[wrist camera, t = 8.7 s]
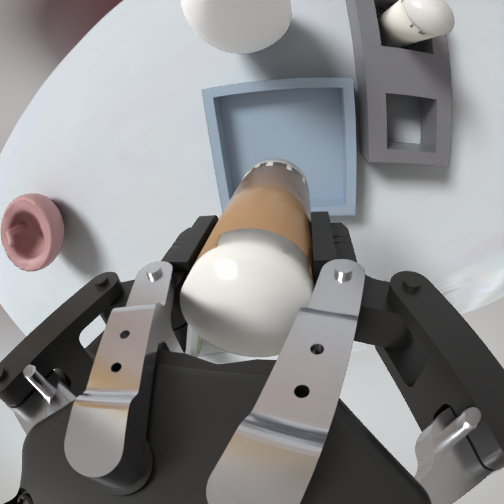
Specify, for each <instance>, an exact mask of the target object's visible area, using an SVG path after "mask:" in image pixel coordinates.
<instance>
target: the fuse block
mask: <svg viewBox="0 0 504 504" xmlns="http://www.w3.org/2000/svg"><path fill="white" fill-rule="evenodd" d="M398 1H399V0H346V5H347V10H348V16H349V21H350V28H351V34H352V41H353V49H354V57H355V66H356V77H357V88H358V103H359V124H360V153H361V154H362V155H363V156H364V157H365V159H366V160H367V161H368V162H382V163H404V164H420V165H433V166H444V167H449V163H450V150H451V132H452V90H451V73H450V61H449V52H448V44H447V37H446V34H444V35H440V36H437V37H433V38H429V39H426V40H422V41H419V42H416V46H417V51H414V50H408V49H402V48H395V47H387V46H381V39H380V32H379V26H378V20H377V14H376V9H375V8H382V9H389V8H390V7H391V6H393V5H394V4H395V3H397V2H398ZM386 93H392V94H401V95H410V96H417V97H421V144H412V143H398V142H387V109H386Z"/></svg>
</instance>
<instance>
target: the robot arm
mask: <svg viewBox="0 0 504 504" xmlns="http://www.w3.org/2000/svg"><path fill="white" fill-rule="evenodd" d="M217 222H218V217H217V216H216V215H215V216H200V217H199V218H198V219H197V220H196V222H195V223H194V225H193V226H192V227H191V228H188V229H186V230H185V231H184V232H182V233H181V234H180V235H179V236H178V238H177V239H176V242H174V243H173V245H172V247H171V248H170V249H169V250H168V252H167V253H166V255H165V256H164V258H163V259H162V260H161V261H159V262H154V263H151V264H149V265H147V266H145V267H143V268H142V269H141V270H140V271H139V272H138V274H137V276H136V279H135V280H131V281H126V282H122V283H121V282H120V280H119V277H118V275H117V274H116V273H114V272H106V273H103V274H100V275H98V276H96V277H95V278H94V279H92V280H91V281H90V282H89V283H87V284H86V285H85V286H84V287H82V288H81V289H80V290H79V291H78V292H76V293H75V294H74V295H73V296H72V297H70V298H69V299H68V300H67V301H66V302H65V303H63V304H62V305H61V306H60V307H59V308H58V309H57V310H55V311H54V312H53V313H52V314H51V315H50V316H49V317H48V318H46V319H45V320H44V321H43V322H42V323H41V324H40V325H39V326H38V327H37V328H35V329H34V330H33V331H32V332H31V333H30V334H29V335H28V336H27V337H26V338H25V339H24V340H23V341H22V342H21V343H20V344H19V345H18V346H16V347H15V349H13V350H12V351H11V353H9V354H8V355H7V357H5V358H4V359H3V360H2V361H1V362H0V399H1V400H3V401H4V402H5V403H6V405H7V406H8V407H9V408H10V409H11V410H13V411H14V413H15V415H16V417H17V419H18V421H19V422H20V424H21V426H22V428H23V429H24V431H25V432H26V434H27V436H26V439H25V441H24V444H23V450H22V474H21V483H20V488H19V491H18V493H17V495H16V496H15V497H14V498H13V499H12V500H10V501H9V502H6V503H4V504H452V503H454V502H455V501H457V500H458V499H459V498H461V497H462V496H463V495H465V494H466V493H467V492H469V491H470V490H471V489H472V488H474V487H475V486H476V485H477V484H479V483H480V482H481V481H482V480H483V479H485V478H486V477H487V476H489V475H491V474H493V473H494V472H496V471H498V470H500V469H501V468H503V467H504V369H503V368H502V366H501V365H500V364H499V362H498V361H497V360H496V358H495V357H494V356H493V354H492V353H491V352H490V350H489V349H488V348H487V346H486V345H485V344H484V343H483V341H482V340H481V339H480V338H479V336H478V335H477V334H476V333H475V332H474V330H473V329H472V328H471V327H470V326H469V324H468V323H467V322H466V321H465V320H464V318H463V317H462V316H461V315H460V314H459V313H458V312H457V310H456V309H455V308H454V307H453V306H452V305H451V304H450V303H449V302H448V300H447V299H446V298H445V297H444V296H443V295H442V294H441V293H440V292H439V291H438V290H437V289H436V288H435V286H434V285H433V284H432V283H431V282H430V281H429V280H428V279H427V278H426V277H424V276H423V275H421V274H418V273H415V272H411V271H403V272H399V273H397V274H395V275H394V276H393V277H392V278H391V281H390V282H386V281H381V280H376V279H373V278H371V277H369V276H367V275H365V270H364V268H363V267H362V266H361V265H360V264H358V263H357V260H356V256H355V252H354V249H353V245H352V242H351V238H350V234H349V231H348V228H346V227H345V226H344V225H343V224H342V223H330V218H329V213H328V211H319V212H311V233H312V252H313V277H314V282H315V288H314V291H313V293H312V296H311V298H310V301H309V304H308V306H307V308H306V307H301V308H300V310H299V312H298V314H297V316H296V319H295V321H294V323H293V325H292V328H291V330H290V332H289V335H288V337H287V339H286V341H285V344H284V346H283V348H282V350H281V352H280V354H279V357H278V359H277V360H259V359H256V360H250V361H243V362H236V363H228V364H214V363H211V362H208V361H205V360H202V359H199V358H197V357H194V356H191V355H190V350H191V334H192V328H191V327H190V326H189V325H188V323H187V322H186V320H185V318H184V316H183V314H182V311H181V307H180V293H181V289H182V287H183V284H184V282H185V280H186V278H187V277H188V275H189V273H190V271H191V269H192V267H193V265H194V264H195V262H196V260H197V258H198V256H199V254H200V252H201V251H202V249H203V247H204V245H205V243H206V242H207V240H208V238H209V236H210V234H211V233H212V231H213V229H214V227H215V225H216V224H217ZM98 315H101V317H102V319H103V320H104V322H105V324H106V327H105V330H104V331H103V332H102V333H101V334H100V335H99V336H98V337H97V338H96V339H95V340H94V341H93V342H92V343H91V344H89V345H88V346H87V347H86V348H85V349H84V348H83V346H82V345H81V343H80V341H79V336H80V333H81V331H82V330H83V329H84V328H85V327H87V326H88V325H89V324H90V323H91V322H92V321H93V320H94V319H95V318H96V317H97V316H98ZM353 340H354V341H358V342H362V343H367V344H371V345H375V348H376V350H377V352H378V354H379V355H380V357H381V358H382V360H383V362H384V364H385V365H386V367H387V369H388V371H389V372H390V374H391V376H392V378H393V379H394V381H395V383H396V385H397V386H398V388H399V390H400V392H401V394H402V395H403V397H404V399H405V401H406V403H407V405H408V406H409V408H410V410H411V412H412V414H413V416H414V417H415V420H416V421H417V423H418V425H419V427H420V429H421V431H422V433H421V434H420V435H419V437H418V439H417V442H416V446H415V453H416V457H417V460H418V470H417V473H416V475H415V477H413V476H412V475H411V474H410V473H409V472H408V471H407V470H406V469H405V468H404V467H403V466H402V465H401V464H400V463H399V462H398V461H397V460H396V459H395V458H394V457H393V455H392V454H391V453H390V452H388V450H387V449H386V448H385V447H384V446H383V445H382V444H381V443H380V442H379V441H378V440H377V439H376V438H375V436H374V435H373V434H372V433H371V432H370V431H369V430H368V429H367V428H366V427H365V426H364V425H363V423H362V422H361V421H360V420H359V419H358V418H357V417H356V416H355V415H354V414H353V412H352V411H351V410H350V409H349V408H348V407H347V406H346V405H345V404H344V403H343V401H341V399H340V398H339V396H340V393H341V389H342V385H343V381H344V378H345V374H346V370H347V366H348V362H349V358H350V354H351V349H352V345H353ZM55 368H56V369H55ZM53 369H55V371H54V370H53Z"/></svg>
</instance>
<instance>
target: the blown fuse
mask: <svg viewBox="0 0 504 504" xmlns="http://www.w3.org/2000/svg"><path fill="white" fill-rule="evenodd" d="M314 288H315V282H314V277H313V252H312V233H311V205H310V193H309V185H308V181H307V179H306V177H305V175H304V173H303V172H302V171H301V170H300V169H299V168H298V167H297V166H296V165H295V164H293V163H291V162H289V161H287V160H284V159H278V158H270V159H265V160H262V161H259V162H257V163H256V164H254V165H253V166H252V167H251V168H250V169H249V170H248V171H247V172H246V174H245V176H244V177H243V179H242V181H241V182H240V184H239V186H238V187H237V189H236V191H235V192H234V194H233V196H232V198H231V199H230V201H229V203H228V204H227V206H226V208H225V210H224V211H223V213H222V215H221V217H220V218H219V220H218V222H217V224H216V225H215V227H214V229H213V231H212V233H211V234H210V236H209V238H208V240H207V242H206V243H205V245H204V247H203V249H202V251H201V252H200V254H199V256H198V258H197V260H196V262H195V264H194V265H193V267H192V269H191V271H190V273H189V275H188V277H187V278H186V280H185V282H184V284H183V287H182V289H181V293H180V307H181V311H182V314H183V316H184V318H185V320H186V322H187V323H188V325H189V326H190V327H191V328H192V330H193V331H194V332H195V333H196V334H197V335H198V336H200V337H201V338H202V339H203V340H205V341H206V342H208V343H209V344H211V345H213V346H215V347H217V348H219V349H221V350H224V351H226V352H229V353H233V354H237V355H241V356H248V357H269V356H275V355H279V354H280V352H281V350H282V348H283V346H284V344H285V341H286V339H287V337H288V335H289V332H290V330H291V328H292V325H293V323H294V321H295V319H296V316H297V314H298V312H299V310H300V308H301V307H306V308H307V306H308V304H309V301H310V298H311V296H312V293H313V291H314Z"/></svg>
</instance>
